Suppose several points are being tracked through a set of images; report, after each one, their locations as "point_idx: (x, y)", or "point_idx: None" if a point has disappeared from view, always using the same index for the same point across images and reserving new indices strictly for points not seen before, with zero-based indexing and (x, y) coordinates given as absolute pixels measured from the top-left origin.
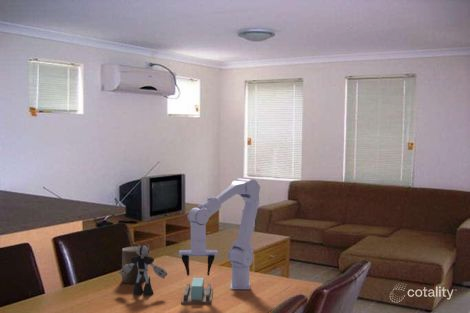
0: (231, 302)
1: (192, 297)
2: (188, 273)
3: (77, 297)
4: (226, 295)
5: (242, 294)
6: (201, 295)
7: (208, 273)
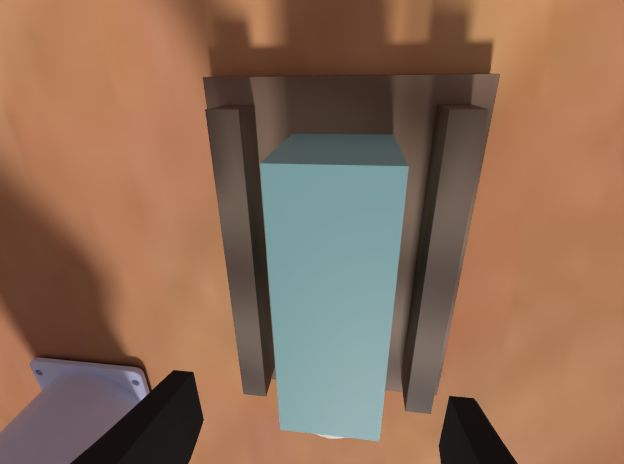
0: (69, 128)
1: (381, 137)
2: (466, 420)
3: None
4: (144, 275)
5: (52, 287)
6: (290, 140)
7: (161, 390)
